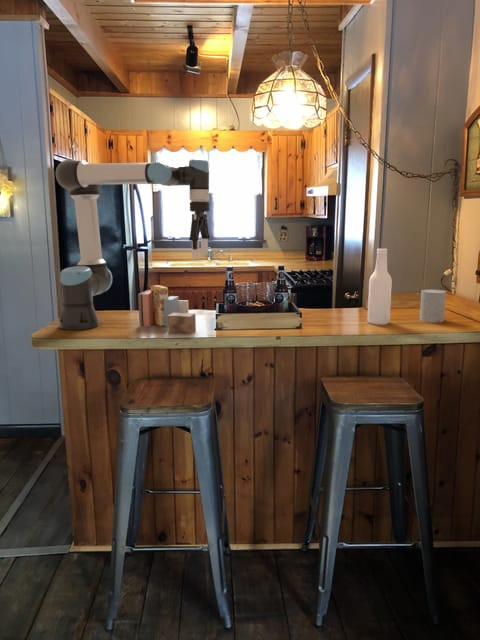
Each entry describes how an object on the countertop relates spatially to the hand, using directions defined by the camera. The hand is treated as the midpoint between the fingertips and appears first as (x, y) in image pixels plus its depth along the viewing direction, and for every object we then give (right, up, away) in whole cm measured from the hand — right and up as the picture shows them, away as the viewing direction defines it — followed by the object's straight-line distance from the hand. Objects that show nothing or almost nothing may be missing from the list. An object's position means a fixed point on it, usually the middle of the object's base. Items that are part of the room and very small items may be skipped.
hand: (200, 256), depth 203 cm
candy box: (-17, -27, +6) cm, 32 cm away
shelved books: (-17, -27, +6) cm, 32 cm away
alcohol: (+72, -26, +6) cm, 77 cm away
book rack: (-15, -27, +7) cm, 32 cm away
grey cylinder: (+96, -25, +11) cm, 100 cm away
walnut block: (-6, -30, -8) cm, 32 cm away
